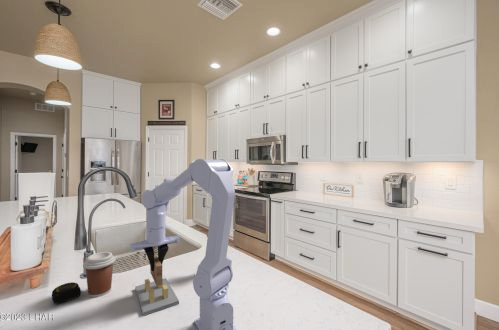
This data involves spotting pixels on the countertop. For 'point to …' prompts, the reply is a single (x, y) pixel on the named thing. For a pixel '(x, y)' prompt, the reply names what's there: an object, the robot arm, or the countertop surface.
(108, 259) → the coffee cup
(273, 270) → the countertop surface
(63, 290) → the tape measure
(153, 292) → the hinge board
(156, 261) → the door panel
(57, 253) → the countertop surface
